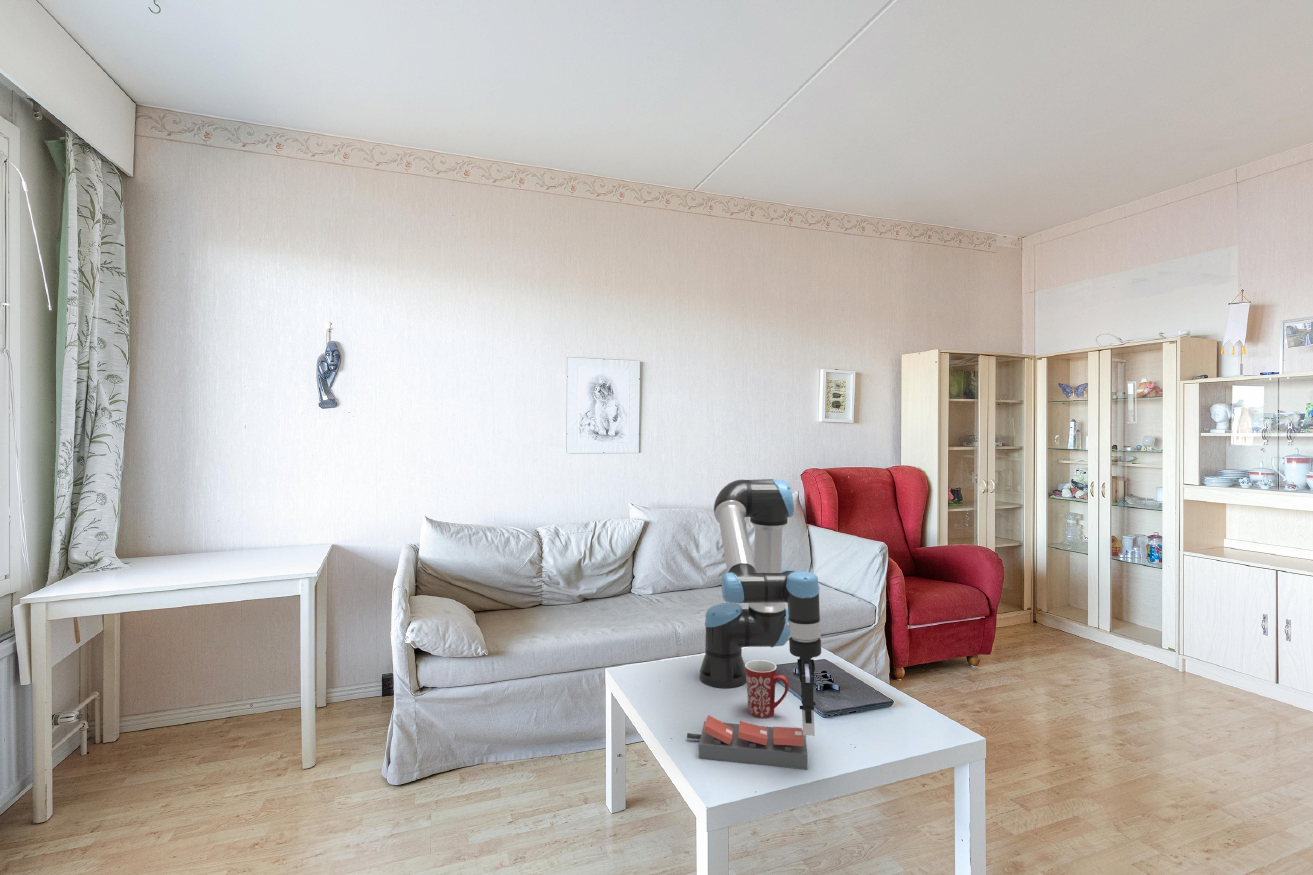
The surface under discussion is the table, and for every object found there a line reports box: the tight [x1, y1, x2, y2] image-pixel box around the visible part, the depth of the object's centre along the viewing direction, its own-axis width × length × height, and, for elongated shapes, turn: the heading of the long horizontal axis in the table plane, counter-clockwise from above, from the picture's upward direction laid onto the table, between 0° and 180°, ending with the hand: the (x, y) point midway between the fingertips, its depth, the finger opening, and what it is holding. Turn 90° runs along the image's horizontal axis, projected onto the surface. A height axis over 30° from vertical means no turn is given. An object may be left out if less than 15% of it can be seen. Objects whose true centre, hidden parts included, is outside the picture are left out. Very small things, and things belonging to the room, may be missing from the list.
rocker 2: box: [772, 726, 803, 746], centre depth 153 cm, size 6×7×2 cm
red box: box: [738, 720, 768, 745], centre depth 154 cm, size 6×7×2 cm
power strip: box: [686, 720, 808, 770], centre depth 157 cm, size 12×30×5 cm, turn 79°
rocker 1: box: [703, 715, 733, 745], centre depth 156 cm, size 6×7×2 cm
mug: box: [744, 659, 790, 719], centre depth 176 cm, size 13×9×14 cm
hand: (808, 733), depth 151 cm, fingers closed
